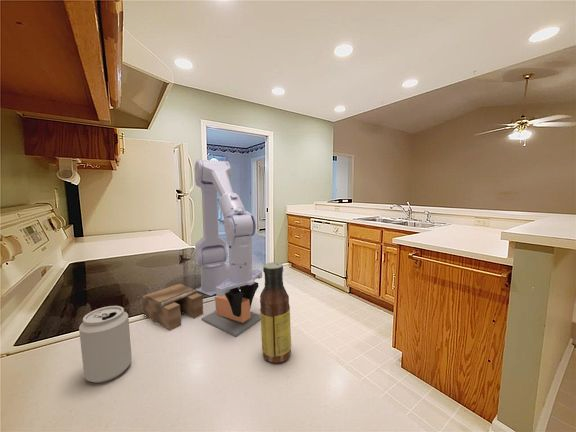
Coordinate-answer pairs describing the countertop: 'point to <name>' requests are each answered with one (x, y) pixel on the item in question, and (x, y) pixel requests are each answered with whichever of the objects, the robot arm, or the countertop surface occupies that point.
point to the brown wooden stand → (172, 305)
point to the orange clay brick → (226, 311)
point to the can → (105, 343)
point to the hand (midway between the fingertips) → (241, 312)
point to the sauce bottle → (275, 315)
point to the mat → (231, 323)
